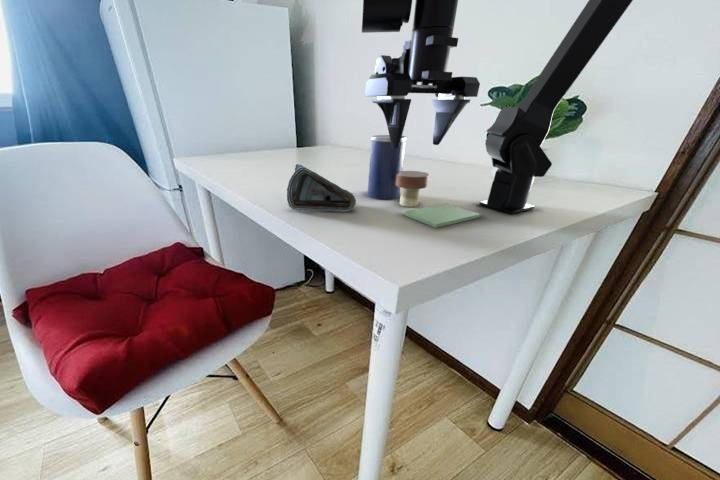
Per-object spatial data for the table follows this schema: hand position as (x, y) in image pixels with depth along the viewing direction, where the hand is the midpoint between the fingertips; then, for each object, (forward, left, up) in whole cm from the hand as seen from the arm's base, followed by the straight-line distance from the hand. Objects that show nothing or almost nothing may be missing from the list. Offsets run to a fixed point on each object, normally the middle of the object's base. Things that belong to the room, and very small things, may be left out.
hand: (416, 146), depth 52 cm
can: (0, -7, -10) cm, 12 cm away
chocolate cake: (+14, -7, -10) cm, 19 cm away
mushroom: (0, 0, -10) cm, 10 cm away
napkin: (0, +8, -10) cm, 13 cm away
